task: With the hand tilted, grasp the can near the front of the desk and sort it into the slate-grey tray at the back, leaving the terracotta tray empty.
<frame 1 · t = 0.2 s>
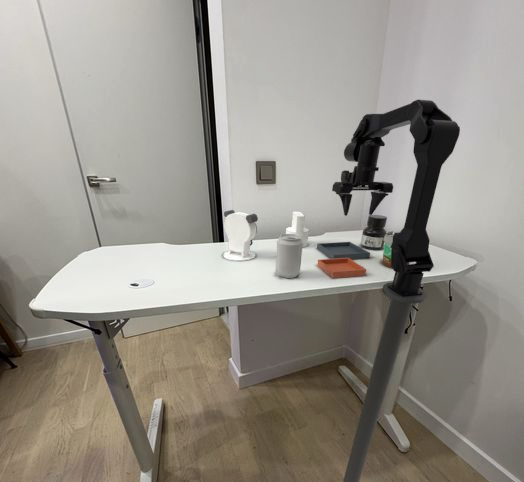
hand: (358, 215, 96), 15 cm above the table, tool pointing down, fingers open, 9 cm apart
grey tray: (341, 253, 109), on the table
food container: (389, 265, 99), on the table
can: (287, 274, 89), on the table
ink bottle: (371, 247, 117), on the table
panda figurine: (240, 256, 104), on the table
white stepped part: (296, 244, 118), on the table
terracotta tray: (340, 270, 93), on the table
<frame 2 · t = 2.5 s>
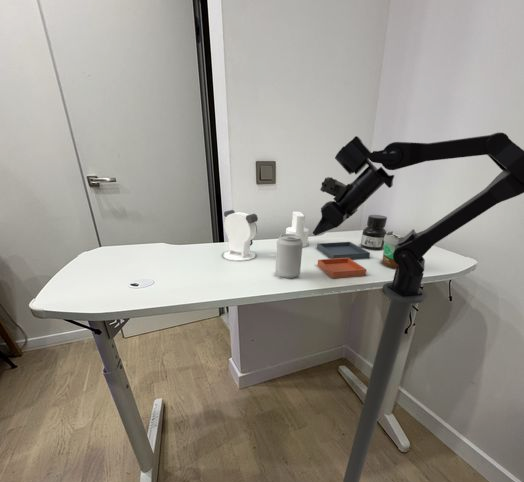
hand: (318, 230, 83), 14 cm above the table, tool tilted 40°, fingers open, 9 cm apart
nothing on the table moved.
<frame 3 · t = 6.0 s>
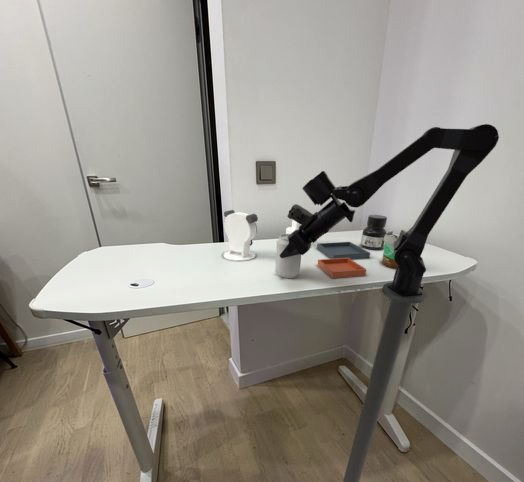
hand: (284, 252, 86), 7 cm above the table, tool tilted 45°, fingers closed on can, 7 cm apart
can: (287, 274, 89), on the table, touching gripper
everything else where it was.
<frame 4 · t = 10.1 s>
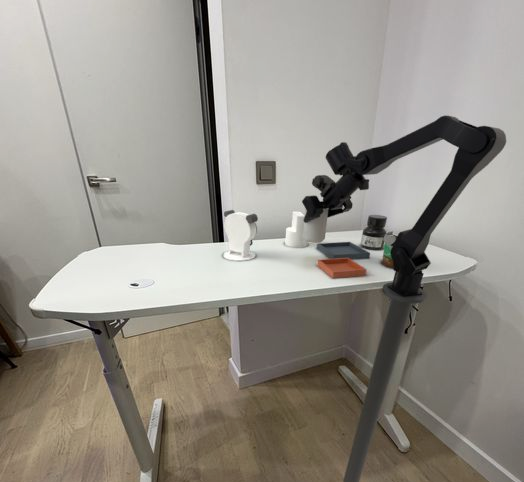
hand: (312, 220, 97), 13 cm above the table, tool tilted 45°, fingers closed on can, 7 cm apart
can: (313, 241, 99), point 6 cm above the table, touching gripper
everything else where it was.
when the fingers open (7 cm above the table, at t = 14.3 s): can stays where it is, resting on grey tray.
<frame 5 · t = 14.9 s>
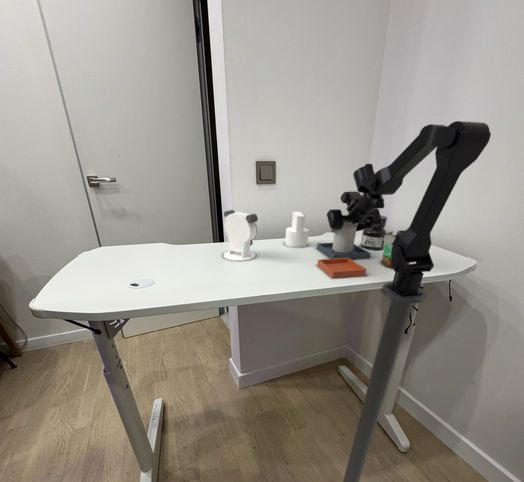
hand: (343, 231, 106), 8 cm above the table, tool tilted 45°, fingers open, 9 cm apart
can: (341, 252, 109), resting on grey tray
everything else where it was.
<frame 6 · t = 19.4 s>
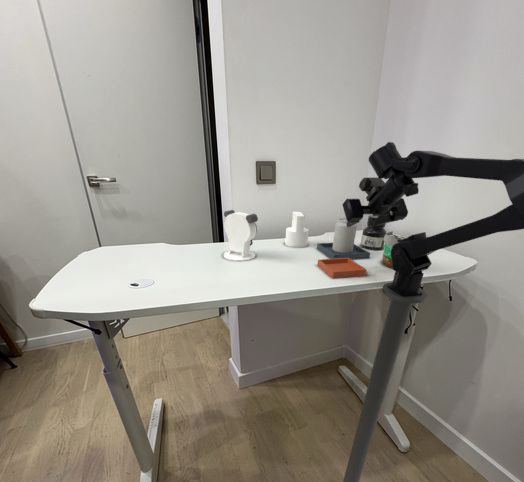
hand: (360, 225, 90), 14 cm above the table, tool tilted 45°, fingers open, 9 cm apart
nothing on the table moved.
at the end: can inside the target area in the grey tray (0.1 cm from its centre), point 0.3 cm above the grey tray's base; can tilted 0°; the gripper is holding nothing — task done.
